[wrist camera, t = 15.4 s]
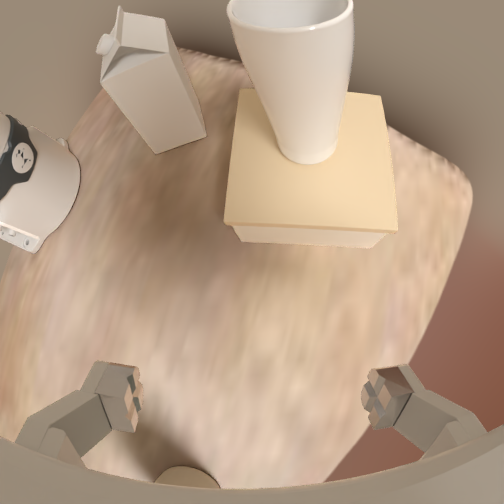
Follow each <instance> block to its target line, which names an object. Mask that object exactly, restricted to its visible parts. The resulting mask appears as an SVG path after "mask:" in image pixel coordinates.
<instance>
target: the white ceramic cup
mask: <svg viewBox="0 0 504 504" xmlns="http://www.w3.org/2000/svg"><path fill="white" fill-rule="evenodd" d="M227 16H228V19H229V22H230V26H231V29H232V33H233V36H234V39H235V42H236V45H237V48H238V51H239V54H240V56H241V59H242V62H243V64H244V66H245V69H246V71H247V73H248V76H249V78H250V80H251V82H252V84H253V86H254V88H255V91H256V93H257V95H258V97H259V99H260V101H261V103H262V106H263V108H264V110H265V112H266V115H267V117H268V119H269V121H270V124H271V126H272V129H273V131H274V133H275V136H276V140H277V143H278V146H279V149H280V150H281V152H282V153H283V154H284V155H285V156H286V157H287V158H288V159H289V160H291V161H293V162H295V163H298V164H303V165H313V164H318V163H321V162H323V161H325V160H326V159H328V158H329V157H330V156H331V155H332V154H333V153H334V151H335V149H336V147H337V144H338V135H339V128H340V123H341V118H342V113H343V108H344V104H345V99H346V94H347V89H348V83H349V79H350V74H351V68H352V61H353V52H354V9H353V0H230V1H229V3H228V5H227Z"/></svg>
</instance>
